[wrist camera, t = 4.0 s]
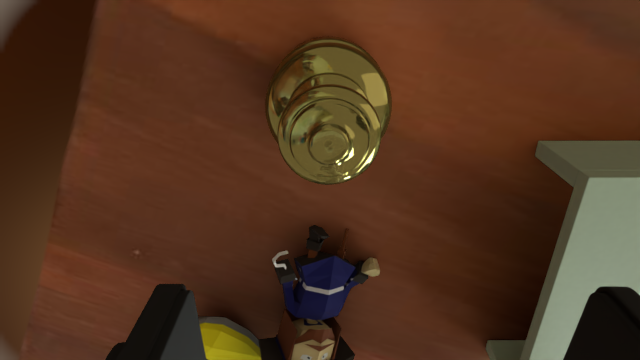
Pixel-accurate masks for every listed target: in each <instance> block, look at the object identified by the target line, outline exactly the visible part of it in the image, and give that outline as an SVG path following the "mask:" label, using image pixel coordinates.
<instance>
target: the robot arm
mask: <svg viewBox="0 0 640 360" xmlns="http://www.w3.org/2000/svg"><path fill="white" fill-rule="evenodd" d="M105 360H206V355H205V350H204V345H203V340H202V335H201V329H200V324H199V319H198V314H197V309H196V303H195V298H194V294H193V291H191V290H186V287H185V285H184V284H159V285H157V286H156V288H155V289H154V291H153V293H152V295H151V297H150V298H149V300H148V302H147V304H146V306H145V308H144V309H143V311H142V313H141V315H140V317H139V318H138V320H137V322H136V324H135V326H134V328H133V329H132V331H131V333H130V335H129V337H128V339H127V340H126V342H122V343H118V344H117V345H115V346H114V347H113V348H112V350H111V351H110V353H109V354H108V356H107V358H106V359H105ZM563 360H640V295H639V294H638V293H637V292H636V291H634V290H633V289H632V288H630V287H617V286H603V287H599V288H597V290H596V291H595V293H592V294H590V296H589V298H588V300H587V303H586V305H585V308H584V310H583V312H582V315H581V317H580V320H579V322H578V325H577V327H576V330H575V332H574V334H573V337H572V339H571V342H570V344H569V347H568V349H567V351H566V354H565V356H564V359H563Z"/></svg>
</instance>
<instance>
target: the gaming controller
mask: <svg viewBox="0 0 640 360" xmlns="http://www.w3.org/2000/svg"><path fill="white" fill-rule="evenodd" d="M198 319H199V324H200V329H201V335H202V340H203V345H204V350H205V355H206V360H262V359H261V354H260V348H259V340H258V339H257V338H256V337H255V336H254V335H253V334H252V333H251V332H250V331H249V330H247V329H246V328H244V327H242V326H240V325H238V324H236V323H235V322H233V321H231V320H229V319H227V318H225V317H218V316H204V317H198Z"/></svg>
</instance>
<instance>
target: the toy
mask: <svg viewBox="0 0 640 360" xmlns="http://www.w3.org/2000/svg"><path fill="white" fill-rule="evenodd" d="M347 235H348V229H346V231H345V235H344V238H343V241H342V245H341V247H339V249H338V252H337V256H334V255H331V254H328V253H324V252H321V251H319V250H320V249H321V247H322V244H323V241H324V239H326V238H328V237H330V236H329V235H328V234H327V233H326V231H325V230H324V229H323V228H321V227H318V226H316V225H313V226H311V227H309V238H308V239H307V246H306V248H307V249H309V252H308V254H307V255H303V256H300V257H297V258H294V260H295V264H296V267H297V270H298V273H299V276H300V279H299V281H298V283H297V284H296V286H295V288H294V290H293V287H292V286H293V281H294V280H297V277H296V275H295V273H294V271H293V268H292V266H291V264H290V262H289V260H288V259H285V260H281V261H278V262H275V260H276V259H277V258H278V257H279V256H281V255H285V254H289V253H288V251H283V252H279V253H278V254H277V255H276V256H275V257H274V258H273V259H272V261H273V263H274V265H275V271H276V273H277V276H278V279H279V281H280V284H282V285H283V293H284V300H285V306H286V307H287V308H286V309H284V313H283V317H282V320H281V324H280V328H279V331H278V334H277V335H276V337H273V338H266V339H259V348H260V354H261V359H262V360H353V359H354V356H355V354H354V353H353V351H352V350H351V349H350V347H349V346H348V345H347V344H346V342H345V341H344V340H343V338H342V337H341V336H340V333H341V327H340V326H339V324H338V323H337V322H336V320H335V319H334V317H335V316H338V314H339V312H340V311H341V309H342V307H343V305H344V303H345V300H346V298H347V296H348V293H349V291H350V289H351V288H352V287H354V286H355V285H357V284H359V283H360V284H363V283H364V282H365V281H366V280H367V279H368V275H370V276H373V277H374V276H377V275H379V273H380V269H379V265H378V262H377V259H374V258H371V257H370V258H368V259H367V260H366V261H365V262H361V261H359V262H358V263H356V264H355V265H354V266H353V265H352V264H351V263H350V262H349V261H348V260H346V259H344V257H345V253H346V250H347V249H345V246H346V240H347ZM321 238H322V239H321Z"/></svg>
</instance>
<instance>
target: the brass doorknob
mask: <svg viewBox="0 0 640 360" xmlns="http://www.w3.org/2000/svg"><path fill="white" fill-rule="evenodd" d="M391 112H392V97H391V91H390V87H389V84H388V81H387V79H386V77H385V75H384V73H383V72H382V70H381V69H380V67H379V66H378V64H377V63H376V61H375V60H374V59H373V58H372V57H371V56H370V55H369V54H368V53H367V52H366V51H365V50H364V49H363V48H362V47H360V46H359V45H357V44H356V43H354V42H352V41H350V40H347V39H344V38H340V37H333V36H324V37H317V38H313V39H310V40H308V41H306V42H303V43H302V44H300V45H298V46H297V47H295V48H294V49H293V50H292V51H291V52H290V53H289V54H288V55H287V56H286V57H285V58H284V59H283V61H282V62H281V63H280V65H279V66H278V68H277V70H276V71H275V73H274V75H273V77H272V79H271V81H270V83H269V86H268V89H267V93H266V99H265V113H266V119H267V123H268V126H269V129H270V131H271V133H272V135H273V137H274V139H275V140H276V142H277V143H278V145H279V149H280V152H281V155H282V157H283V159H284V161H285V162H286V164H287V165H288V166H289V167H290V168H291V170H293V171H294V172H295V173H296V174H297V175H299V176H300V177H302V178H304V179H306V180H308V181H311V182H314V183H318V184H325V185H332V184H340V183H344V182H347V181H349V180H352V179H354V178H356V177H357V176H359V175H360V174H362V173H363V172H364V171H365V170H366V169H367V168H368V167H369V166H370V165H371V164H372V162H373V161H374V159H375V157H376V155H377V153H378V150H379V147H380V143H381V139H382V137H383V136H384V134H385V132H386V130H387V127H388V124H389V121H390V117H391Z"/></svg>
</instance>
